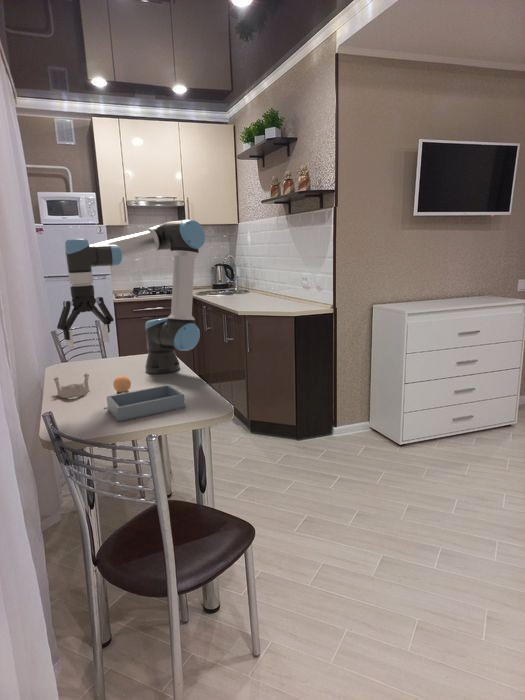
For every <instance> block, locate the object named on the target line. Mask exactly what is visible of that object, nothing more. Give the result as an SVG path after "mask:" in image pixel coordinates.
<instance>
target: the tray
mask: <svg viewBox="0 0 525 700" xmlns="http://www.w3.org/2000/svg"><path fill="white" fill-rule="evenodd" d="M106 402H107V403H106V404H107V407H108V408H107V409H108V411H109V412H110V414H111V415H112V416H113V417H114V418H115V420H116V421H117V422H118V423H122V422H127V421H131V420H134V419H140V418H145V417H149V416H153V415H159V414H163V413H166V412H168V413H169V412H173V411H178V410H181V409H182V410H183V409H185V408H186V402H185V394H184V393H182V391H179V390H178V389H177V388H175V387H174V386H172V385H170V384H165V385H159V386H154V387H149V388H144V389H139V390H132V391H129V392H127V393H121V394H117V393H116V394H113V395H112V394H111V395H107V396H106Z"/></svg>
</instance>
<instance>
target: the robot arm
mask: <svg viewBox="0 0 525 700" xmlns="http://www.w3.org/2000/svg"><path fill="white" fill-rule="evenodd" d="M64 242H65V243H64V247H65V257H66V264H67V271H68V278H69V285H71V286H70V295H71V300H63V302H62V303H63V305H62V306H63V308H62V310H61V314H60V316H59V317H60V318H59V321H58V323H57V327H56V329H57V330H61V331H62V332H63V337H64V340H65V341H67V342H66V343H67V349H69V350H75V345H74V344H75V343H74V337H73V336H74V335H73V330H71V327H72V326H73V325H74V323H75V321H76V319H77V318H78V316H79V315H80V314H81V313H86V312H89V313H90V312H91V313H93V315H94V316H96V318H98V319H99V320H100V321H101V333H102V334H101V335H102V341H103V342H104V343H110V338H109V337H110V336H109V335H110V334H109V333H110V332H111V331H110V324H111V323H112V322H114V318H113V315H112V314H111V312H110V311H109V309H108V307H107V306H106V303H105V302H104V298H103V297H102V296H97V297H96V298H95V289H94V288H95V285H93V283H94V279H93V278H94V277H93V269H92V268H94V267H114V266H118V265H120V264H121V263H122V261H123V258H124V257H127V256H131V255H134V254H138V253H143V252H146V251H151V252H156V251H159V250H160V251H161V250H162V251H163V250H169V251H170V253H171V254H172V256H173V269H172V270H173V271H172V287H171V289H172V291H171V307H170V308H171V309H170V310H171V311H170V314H169V315H168V316H167V317H163V318H158V319H157V318H156V319H155V318H154V319H150V320H147V321H146V322H145V324H144V325H145V326H144V327H145V328H144V329H145V336H146V348H147V358H146V361H145V362H146V363H145V365H144V368H145V373H148V374H152V375H153V374H155V375H156V374H157V375H158V374H160V375H161V374H168V373H174V372H176V371H179V370H180V369H181V364H180V361H179V358H178V357H177V354H176V351H180V352H181V351H184V352H187V351H191V350H193V349H194V348H195V347H196V346H197V345H198V343H199V341H200V338H201V337H200V336H201V331H200V328H199V327H198V326H197V324H196V319H195V317H194V316H193V297H194V296H193V295H194V278H195V277H194V275H195V259H196V257H197V256H199V252H200V251H199V250H200V248H202V247H203V245H204V244H205V242H206V233H205V229H204V228H203V227H202V225H201V223H200V222H198V221H197V220H195V219H181V220H174V221H173V220H172V221H166V222H163V223H161V224H157V225H154V226H151V227H147V228H145V230H144V231H142V232H137V233H133V234H129V235H124V236H120V237H115V238H111V239H108V240H103V241H98V242H95V243H89V240H88V239H87V238H68V239H66V240H65V241H64ZM96 304H97V305H98V307H99V309H100V310H99V309H98V308H97V306H95V305H96ZM72 307H73V309H72V310H71V308H72ZM70 312H71V313H70ZM69 314H70V315H69ZM175 350H176V351H175Z"/></svg>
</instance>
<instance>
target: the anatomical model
mask: <svg viewBox="0 0 525 700" xmlns="http://www.w3.org/2000/svg"><path fill="white" fill-rule="evenodd" d="M89 376H90V374H88V373H87V372H85V374H84V375H83V377H84V381H83V382H80V383H74V384H68V385H65V386H64V385H62V386H61V384H60V382H59V376H58V377H57V376H55V377H54V378H53V381H54V383H55V387H56V390H57V396H58V397H60V398H61V399H72V398H73V399H74V398H78V397H79V398H80V397H83V396H85V395H86V394H89V392H90V391H91V390H90V387H89Z"/></svg>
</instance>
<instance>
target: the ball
mask: <svg viewBox="0 0 525 700" xmlns="http://www.w3.org/2000/svg"><path fill="white" fill-rule="evenodd" d="M131 384H132V381H131V379H130V378H129V377H128V376H126V375H119V376H117V377H115V379H114V381H113V388H114V390H115V391H116V392H117V391H118V392H122V393H123V392H126V391H130V389H131V386H132V385H131Z"/></svg>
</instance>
